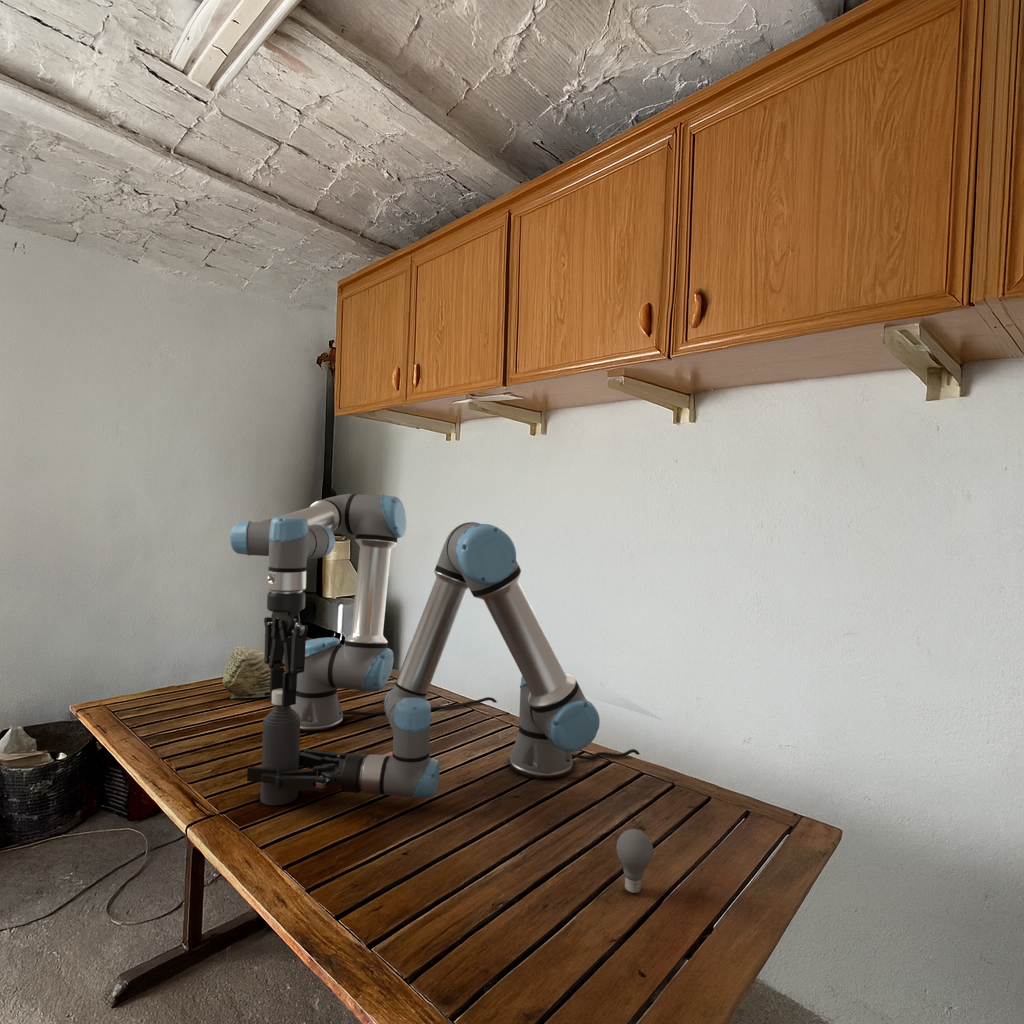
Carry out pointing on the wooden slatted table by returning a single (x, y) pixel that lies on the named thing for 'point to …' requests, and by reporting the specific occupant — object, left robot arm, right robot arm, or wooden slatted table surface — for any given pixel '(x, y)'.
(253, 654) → the fossil
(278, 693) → the cap
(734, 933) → the wooden slatted table surface
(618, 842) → the light bulb
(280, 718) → the bottle
